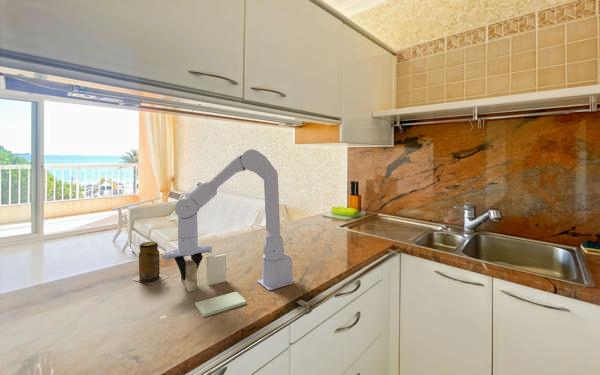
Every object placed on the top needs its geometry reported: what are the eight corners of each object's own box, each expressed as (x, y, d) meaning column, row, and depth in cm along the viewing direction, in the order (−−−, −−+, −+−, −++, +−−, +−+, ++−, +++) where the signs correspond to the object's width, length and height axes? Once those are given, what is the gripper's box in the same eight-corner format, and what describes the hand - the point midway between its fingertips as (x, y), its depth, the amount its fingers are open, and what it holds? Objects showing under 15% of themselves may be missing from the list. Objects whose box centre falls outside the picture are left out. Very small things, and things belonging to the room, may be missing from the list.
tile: (224, 279, 93) (224, 253, 93) (226, 281, 92) (226, 254, 92) (207, 284, 90) (206, 257, 89) (208, 285, 89) (207, 258, 88)
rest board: (236, 294, 83) (236, 291, 83) (246, 303, 78) (246, 301, 78) (195, 305, 76) (195, 302, 76) (203, 317, 71) (203, 314, 71)
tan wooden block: (189, 279, 93) (188, 256, 92) (197, 289, 86) (196, 264, 85) (181, 281, 92) (180, 257, 91) (188, 291, 84) (188, 266, 84)
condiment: (152, 272, 98) (151, 239, 97) (169, 277, 94) (168, 243, 93) (132, 280, 92) (131, 244, 91) (148, 285, 88) (147, 248, 87)
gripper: (206, 230, 95) (207, 269, 96) (160, 236, 86) (161, 278, 87) (214, 235, 89) (214, 275, 90) (164, 241, 81) (165, 287, 82)
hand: (188, 277), depth 89 cm, fingers closed on tan wooden block, 2 cm apart
